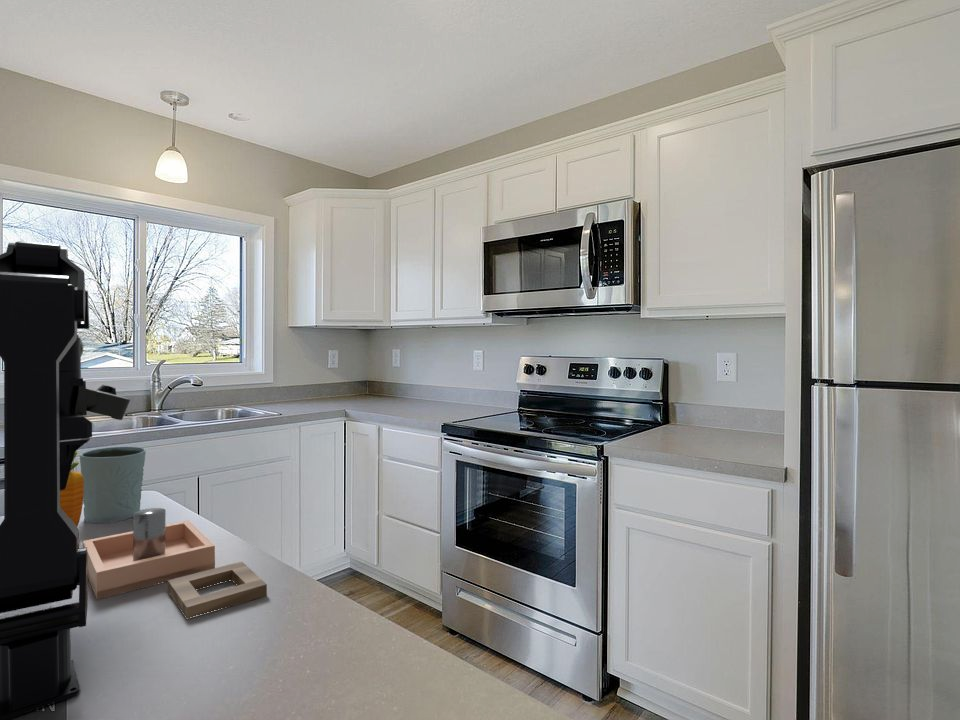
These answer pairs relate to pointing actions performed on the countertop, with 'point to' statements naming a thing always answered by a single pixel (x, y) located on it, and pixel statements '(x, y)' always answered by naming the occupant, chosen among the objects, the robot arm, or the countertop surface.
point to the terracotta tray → (146, 560)
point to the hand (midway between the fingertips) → (57, 482)
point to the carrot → (73, 495)
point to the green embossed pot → (112, 483)
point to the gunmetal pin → (148, 533)
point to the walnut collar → (196, 604)
